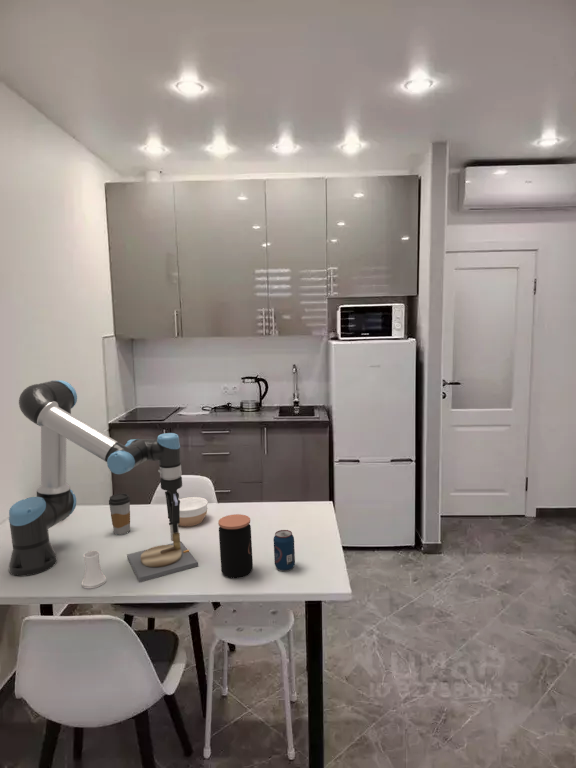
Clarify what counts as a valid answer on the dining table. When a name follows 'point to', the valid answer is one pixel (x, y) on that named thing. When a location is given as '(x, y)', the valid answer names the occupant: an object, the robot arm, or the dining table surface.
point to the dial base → (154, 572)
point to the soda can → (284, 550)
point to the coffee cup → (120, 513)
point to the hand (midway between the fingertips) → (175, 539)
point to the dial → (163, 554)
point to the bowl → (192, 511)
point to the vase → (92, 571)
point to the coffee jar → (235, 546)
